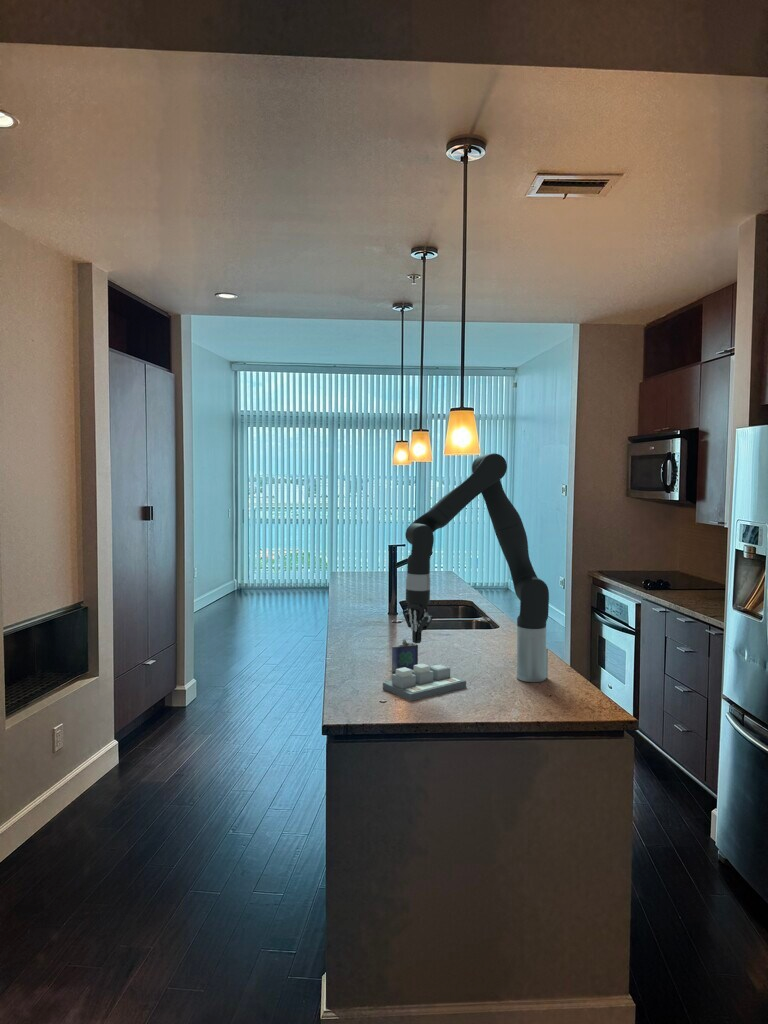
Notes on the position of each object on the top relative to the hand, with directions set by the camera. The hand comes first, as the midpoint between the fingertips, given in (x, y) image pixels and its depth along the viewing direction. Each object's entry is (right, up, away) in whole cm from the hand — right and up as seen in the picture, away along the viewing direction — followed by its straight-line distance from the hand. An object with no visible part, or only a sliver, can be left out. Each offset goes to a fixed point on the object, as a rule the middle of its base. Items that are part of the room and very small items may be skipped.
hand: (416, 642), depth 209 cm
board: (+2, -14, 0) cm, 14 cm away
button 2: (+7, -12, +5) cm, 15 cm away
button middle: (+2, -10, +1) cm, 10 cm away
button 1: (-4, -11, -3) cm, 12 cm away
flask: (-3, -13, +18) cm, 22 cm away
